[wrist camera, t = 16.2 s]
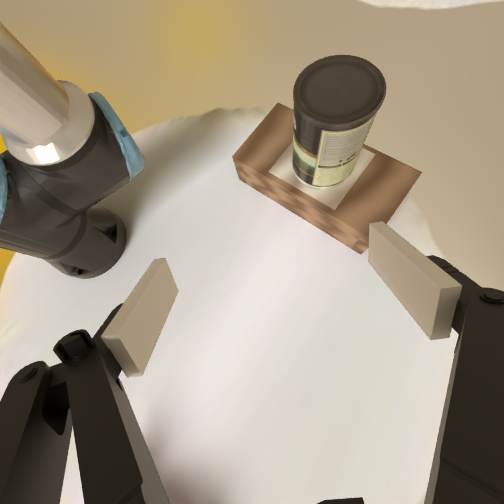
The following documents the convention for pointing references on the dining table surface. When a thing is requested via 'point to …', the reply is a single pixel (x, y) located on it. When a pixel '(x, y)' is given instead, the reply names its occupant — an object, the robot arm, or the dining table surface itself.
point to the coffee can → (333, 117)
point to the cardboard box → (323, 200)
